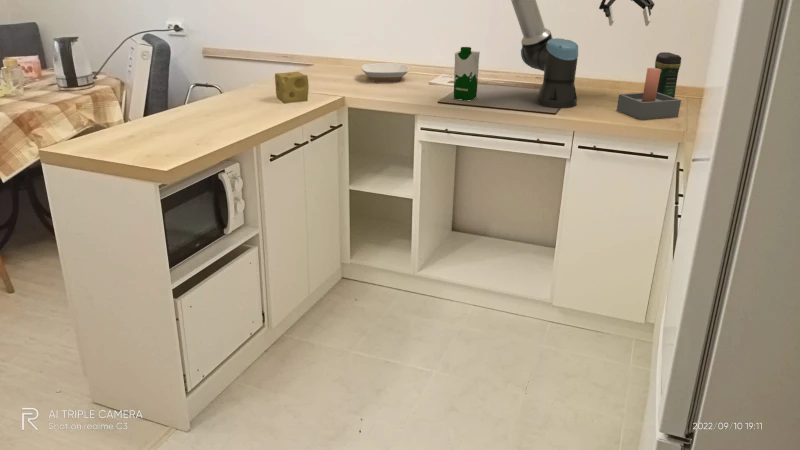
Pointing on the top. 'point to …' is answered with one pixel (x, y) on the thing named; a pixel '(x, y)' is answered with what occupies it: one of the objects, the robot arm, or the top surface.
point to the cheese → (291, 87)
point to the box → (648, 106)
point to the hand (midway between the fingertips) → (629, 23)
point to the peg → (651, 84)
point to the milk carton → (466, 74)
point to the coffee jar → (667, 72)
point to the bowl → (385, 71)
